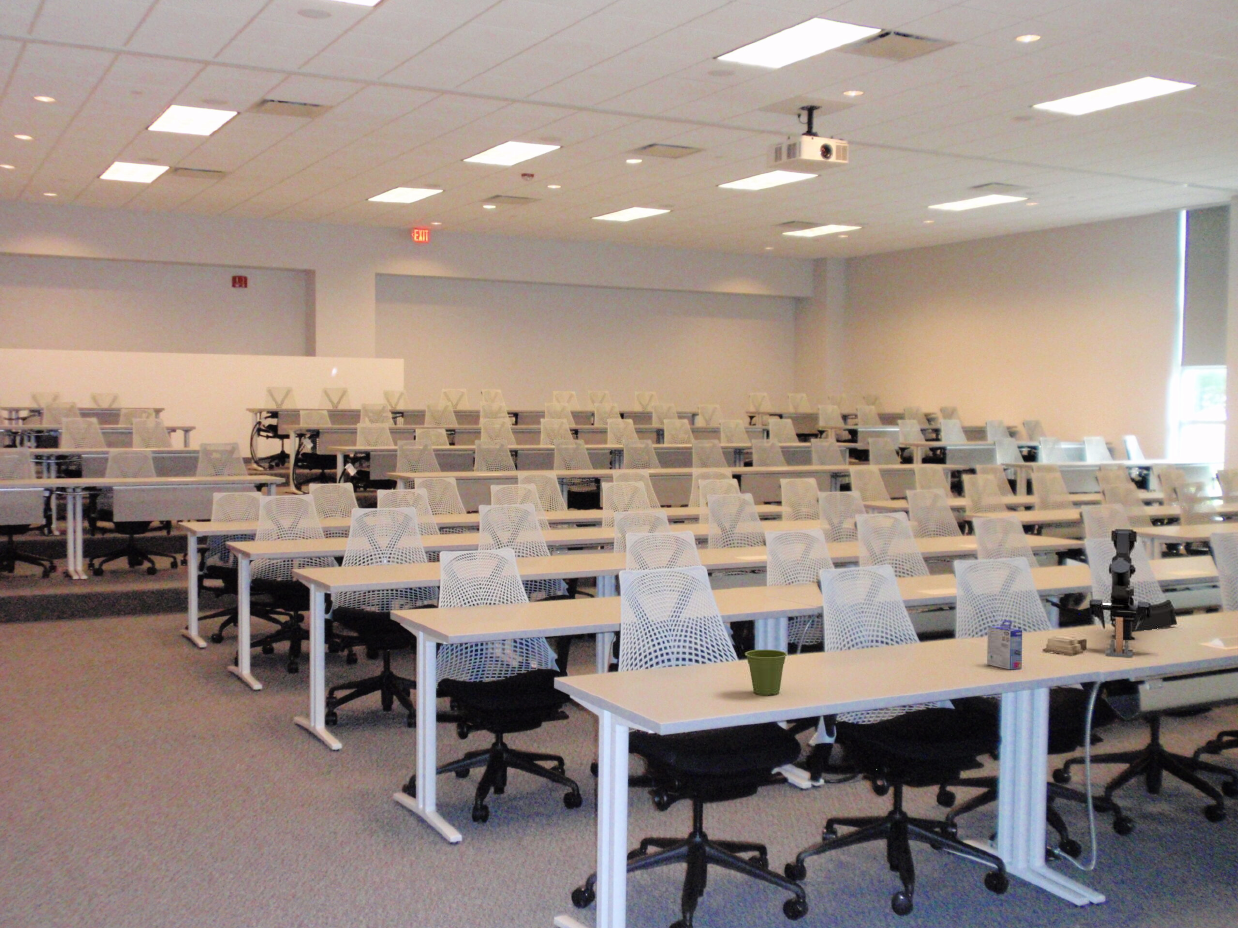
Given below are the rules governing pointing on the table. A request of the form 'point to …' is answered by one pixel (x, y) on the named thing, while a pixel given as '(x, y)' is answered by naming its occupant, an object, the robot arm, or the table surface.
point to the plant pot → (766, 670)
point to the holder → (1112, 652)
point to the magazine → (1157, 617)
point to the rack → (1066, 645)
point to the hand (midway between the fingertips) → (1119, 628)
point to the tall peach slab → (1119, 634)
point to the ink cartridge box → (1004, 646)
